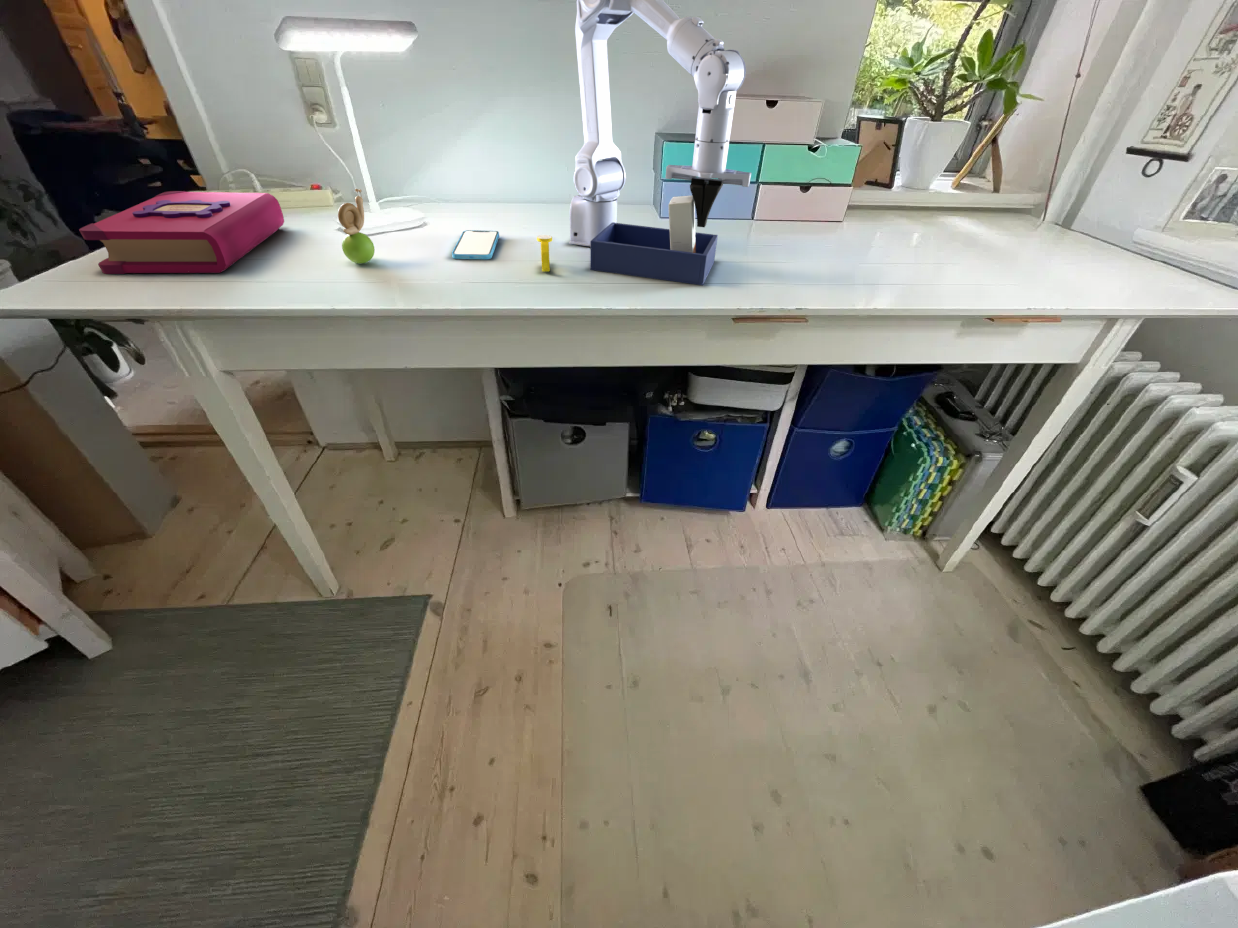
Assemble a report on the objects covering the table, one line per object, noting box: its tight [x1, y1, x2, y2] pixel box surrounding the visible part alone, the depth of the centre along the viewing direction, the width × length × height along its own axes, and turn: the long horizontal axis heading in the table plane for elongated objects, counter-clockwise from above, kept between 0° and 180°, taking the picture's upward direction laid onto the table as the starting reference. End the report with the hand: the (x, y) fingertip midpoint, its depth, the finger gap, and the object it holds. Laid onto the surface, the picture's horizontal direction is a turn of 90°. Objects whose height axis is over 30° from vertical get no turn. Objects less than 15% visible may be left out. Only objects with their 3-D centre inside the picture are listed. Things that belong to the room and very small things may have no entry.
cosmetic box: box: [667, 195, 696, 253], centre depth 102 cm, size 6×4×12 cm
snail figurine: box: [337, 188, 375, 264], centre depth 99 cm, size 5×6×12 cm
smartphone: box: [451, 229, 500, 260], centre depth 112 cm, size 8×1×15 cm
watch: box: [536, 234, 553, 273], centre depth 101 cm, size 6×3×6 cm, turn 6°
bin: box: [589, 222, 719, 286], centre depth 105 cm, size 22×14×5 cm, turn 74°
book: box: [78, 190, 285, 275], centre depth 103 cm, size 21×28×8 cm
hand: (701, 225), depth 100 cm, fingers closed
